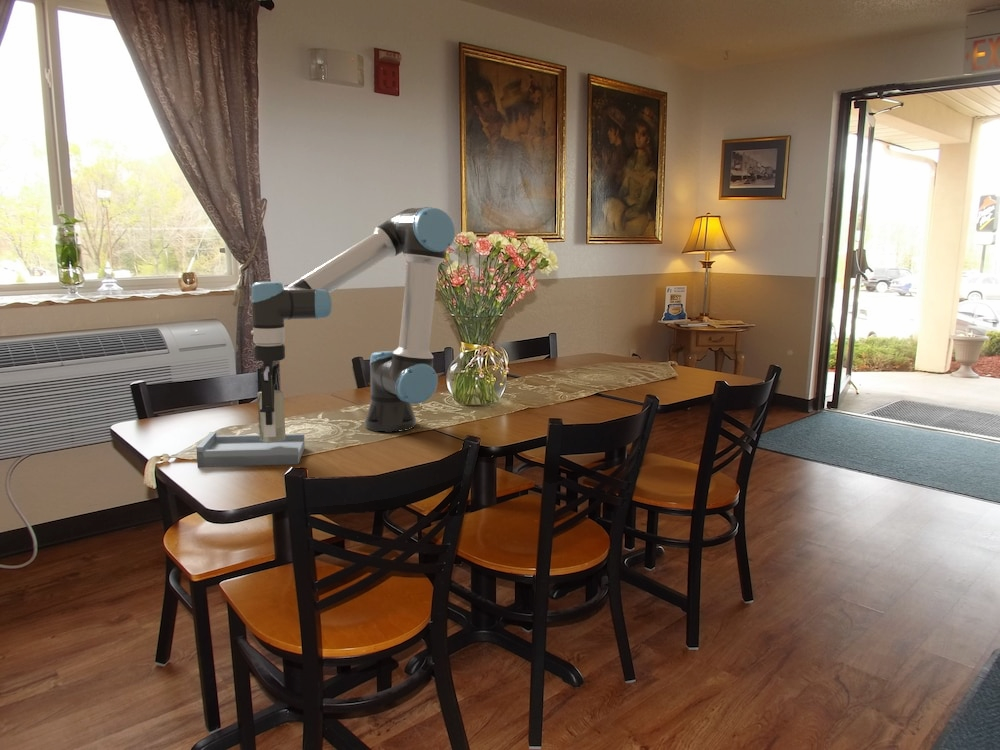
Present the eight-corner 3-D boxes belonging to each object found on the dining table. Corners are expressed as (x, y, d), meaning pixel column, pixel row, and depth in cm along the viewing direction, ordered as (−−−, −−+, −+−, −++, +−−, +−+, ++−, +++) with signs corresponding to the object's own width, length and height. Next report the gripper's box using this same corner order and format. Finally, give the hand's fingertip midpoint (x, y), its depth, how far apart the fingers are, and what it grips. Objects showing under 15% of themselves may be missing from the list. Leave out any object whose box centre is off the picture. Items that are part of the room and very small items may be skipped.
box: (276, 437, 187) (274, 388, 185) (286, 440, 184) (284, 391, 182) (258, 440, 183) (256, 391, 181) (268, 444, 180) (266, 394, 178)
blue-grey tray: (304, 448, 193) (304, 430, 192) (298, 464, 179) (297, 444, 178) (211, 450, 189) (210, 432, 188) (197, 467, 175) (196, 447, 174)
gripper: (260, 338, 188) (263, 423, 192) (246, 349, 169) (250, 443, 174) (289, 338, 189) (292, 423, 193) (278, 349, 170) (282, 443, 175)
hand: (272, 432), depth 184 cm, fingers closed on box, 6 cm apart
